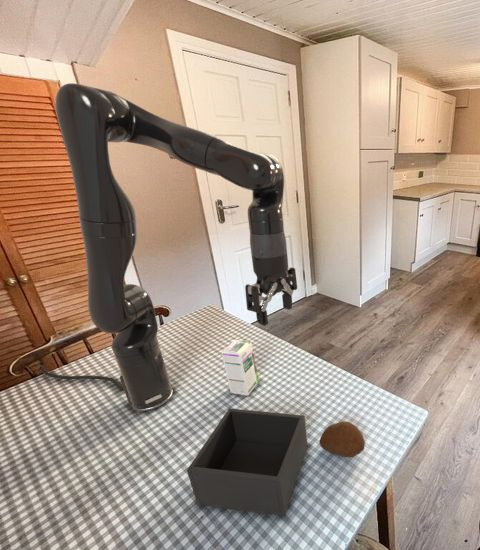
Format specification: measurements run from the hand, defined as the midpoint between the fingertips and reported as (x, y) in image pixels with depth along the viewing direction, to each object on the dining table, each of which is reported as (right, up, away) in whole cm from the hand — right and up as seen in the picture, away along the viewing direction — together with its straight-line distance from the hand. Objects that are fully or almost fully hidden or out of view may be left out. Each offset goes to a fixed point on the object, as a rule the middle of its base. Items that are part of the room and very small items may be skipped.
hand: (276, 316), depth 72 cm
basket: (-2, -33, -8) cm, 34 cm away
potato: (+16, -31, -2) cm, 35 cm away
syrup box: (-14, -23, +16) cm, 32 cm away
